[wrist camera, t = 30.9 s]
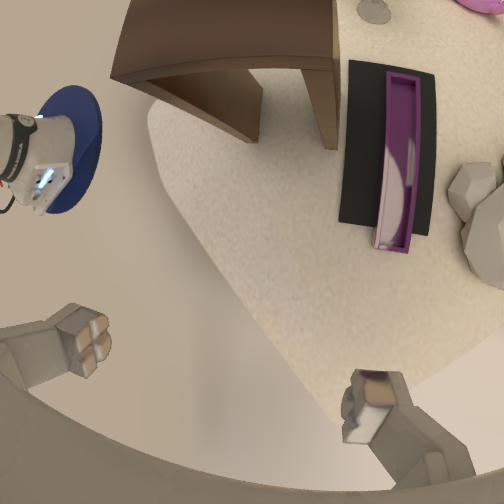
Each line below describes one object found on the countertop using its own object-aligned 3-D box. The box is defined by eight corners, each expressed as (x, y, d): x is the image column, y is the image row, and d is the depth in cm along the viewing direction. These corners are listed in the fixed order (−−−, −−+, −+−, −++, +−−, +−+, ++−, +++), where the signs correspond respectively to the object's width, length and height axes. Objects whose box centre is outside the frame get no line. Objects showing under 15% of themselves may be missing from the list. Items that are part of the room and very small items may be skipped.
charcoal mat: (426, 235, 33) (428, 236, 33) (338, 221, 36) (338, 221, 36) (433, 76, 29) (434, 74, 28) (348, 61, 32) (348, 59, 31)
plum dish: (403, 250, 34) (408, 253, 32) (371, 244, 35) (373, 248, 33) (415, 84, 29) (419, 77, 27) (383, 78, 30) (386, 70, 28)
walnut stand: (337, 150, 35) (332, 58, 10) (246, 143, 38) (109, 78, 13) (340, 92, 33) (329, -51, 8) (251, 88, 36) (138, -21, 12)
